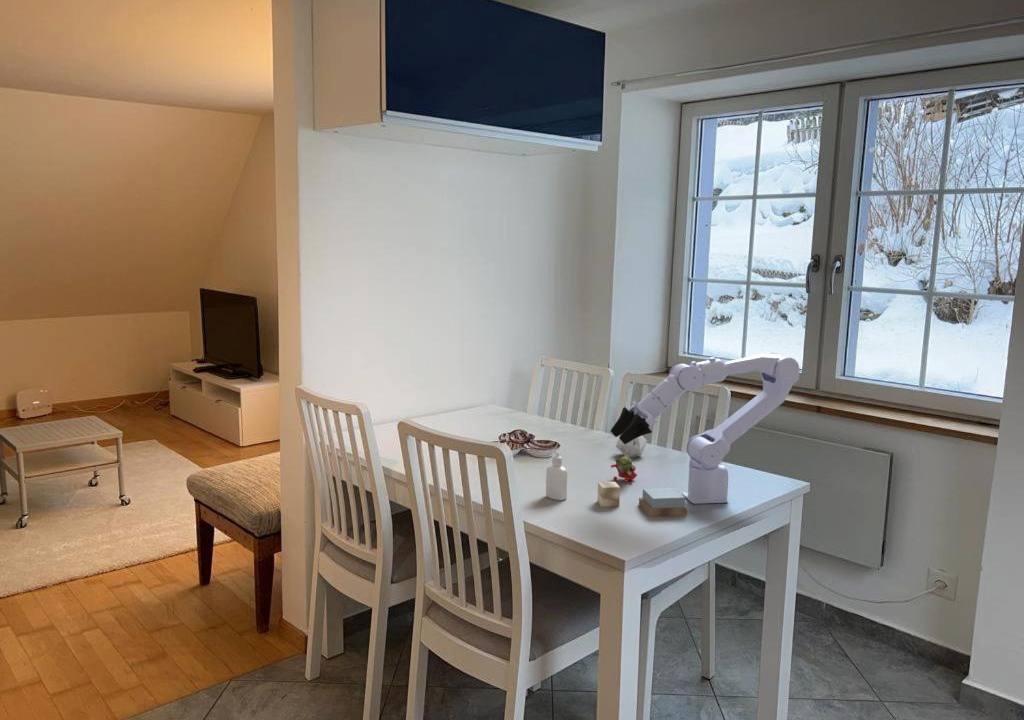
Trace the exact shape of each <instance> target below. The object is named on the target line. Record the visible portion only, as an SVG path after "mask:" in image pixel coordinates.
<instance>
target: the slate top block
mask: <svg viewBox="0 0 1024 720" xmlns="http://www.w3.org/2000/svg"><path fill="white" fill-rule="evenodd" d="M642 497H643V499H644V500H645V501H646V502H647V503H648V504H649V505H650V506H651V507H652V508H653V509H661V508H684V507H686V497H685V496H684V495H683V494H682V492H680V491H679V490H678V489H676V488H675V487H652V488H642Z"/></svg>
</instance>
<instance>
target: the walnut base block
mask: <svg viewBox="0 0 1024 720" xmlns="http://www.w3.org/2000/svg"><path fill="white" fill-rule="evenodd" d="M638 505H639V506H640V508H641V509H642V510H643V511H644V512H645V513H646V514H647V515H648V516H649V517H650V518H656V517H657V518H658V517H677V516H678V517H682V516H684V517H686V516H688V515H687V514H688V513H687V511H688V508H687V507H686V506H685V507H684V508H661V509H653V508H652V507H651V506H650V505H649V504H648V503H647V502H646V501H645V500H644V499H643V496H642V497H639V499H638Z"/></svg>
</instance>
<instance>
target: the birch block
mask: <svg viewBox="0 0 1024 720" xmlns="http://www.w3.org/2000/svg"><path fill="white" fill-rule="evenodd" d="M620 490H621V487H620V486H619V484H618V483H617V482H616V481H600V482H599V481H598V482H597V502H598V504H599V506H601V508H610V507H612V508H613V507H614V508H615V507H620V496H621V493H620V492H621V491H620Z"/></svg>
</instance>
